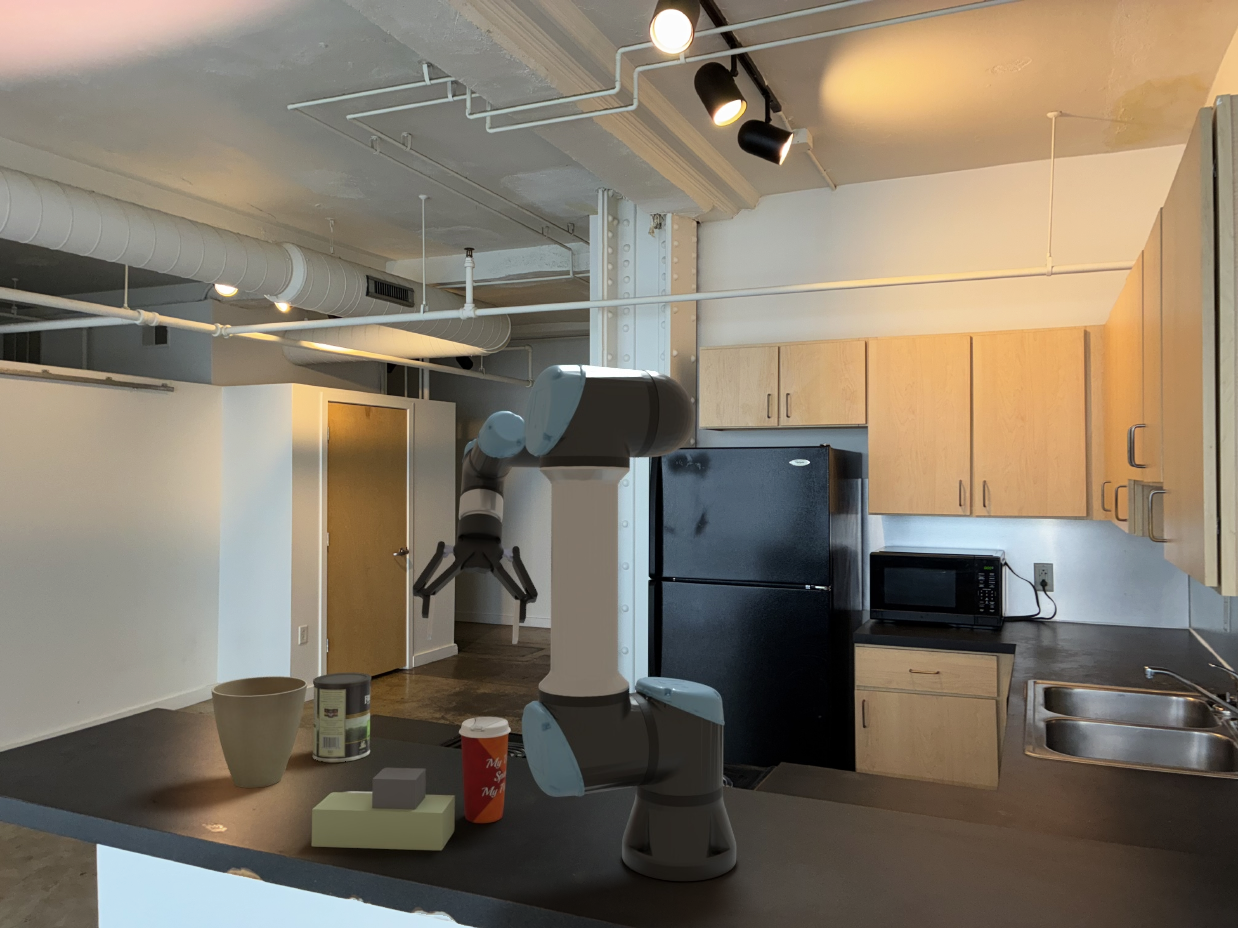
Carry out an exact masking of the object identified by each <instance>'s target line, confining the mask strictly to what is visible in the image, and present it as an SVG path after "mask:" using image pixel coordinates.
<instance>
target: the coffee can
mask: <svg viewBox="0 0 1238 928" xmlns="http://www.w3.org/2000/svg"><path fill="white" fill-rule="evenodd" d="M371 683H372V676H371V675H370V674H367V673H362V672H338V673H329V674H323V675H320V676H316V677H314V678H313V680H312V685H313V720H312V721H313V722H312V723H313V724H312V727H313V728H312V729H313V730H312V731H313V734H312V759H314V760H315V759H316V760H315V761H317V760H318V762H321V761H323V762H322V763H344V762H345V761H346V762H351V761H357V760H360V759H363V758H366V757H368V756H369V755H370V753H371V749H370V747H371V746H370V745H371V743H370V742H371V740H370V739H371V734H370V733H371V686H372V685H371ZM346 762H345V763H346Z"/></svg>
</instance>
